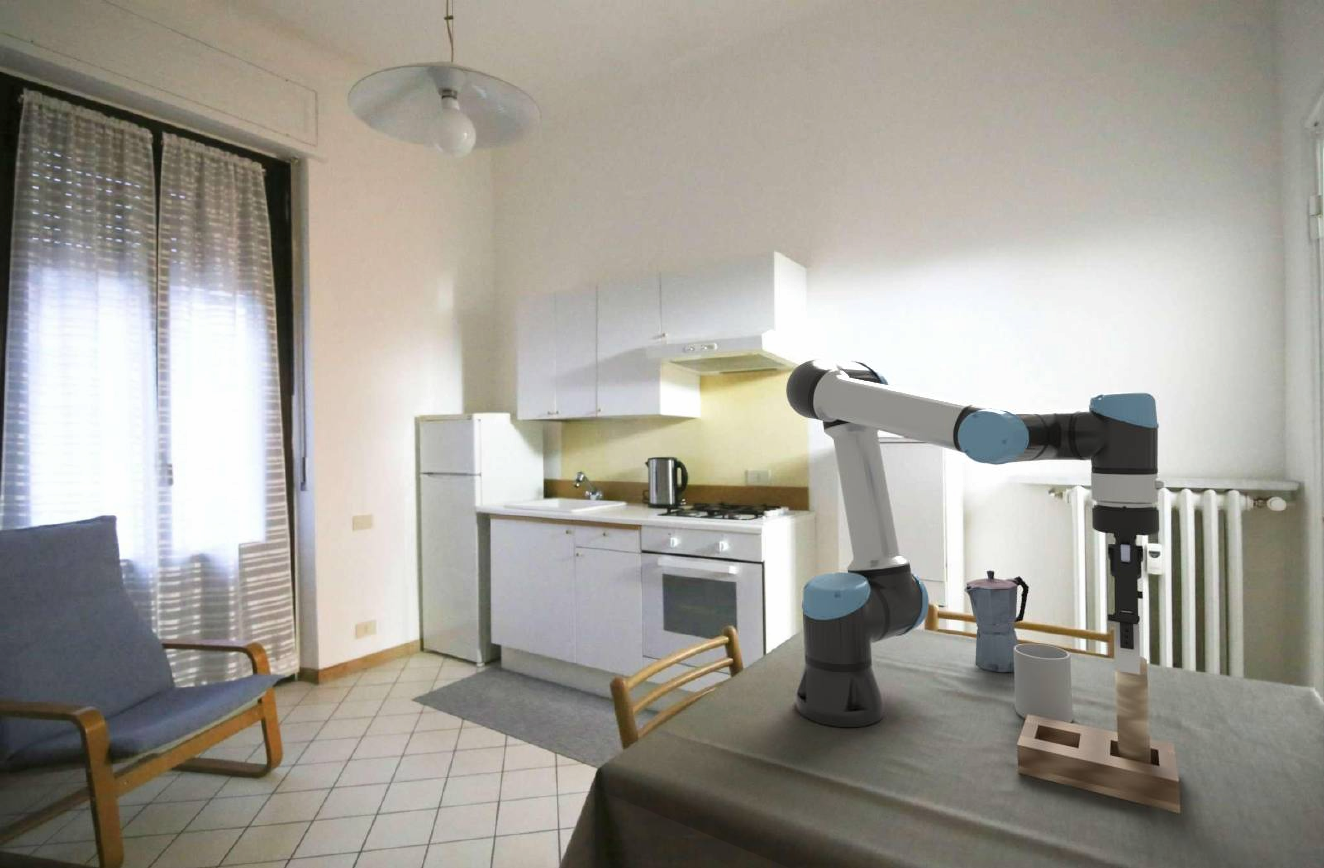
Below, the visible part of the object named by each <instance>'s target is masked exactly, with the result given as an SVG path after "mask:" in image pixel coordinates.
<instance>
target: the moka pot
mask: <svg viewBox="0 0 1324 868" xmlns="http://www.w3.org/2000/svg"><path fill="white" fill-rule="evenodd" d="M986 574H987V578H985V577H984V578H978V579H974V580H971V581H969V582H967V583H966V587H965V588H964V592H966V593H967V595H968V596H969V600H970V601H969V602H970V605H971V610H972V615H973V618H974V619H975V624H976V627H977V629H976V638H975V639H976V643H975V644H976V645H975V664H976V665H977V666H978V667H980V668H981V669H983V670H986V671H989V672H996V673H1014V647H1015V646H1017V645H1020V644H1019V640H1018V636H1017V632H1016V630H1015V629H1016V626H1015V623H1019V622H1022V621H1024V616H1025V610H1026V606H1027V600H1028V594H1029V588H1030V586H1029V585H1028V584H1027V582H1026V581H1024V580H1023V578H1022V577H1021V576H1017V577H1014V578H1006V579H1000V578H995V571H994V570H986ZM1019 586H1021V588H1022V592H1021V593H1020V595H1021V601H1020V609H1019V613H1018V614H1017V610H1018V609H1017V606H1018V604H1017V603H1018V587H1019Z"/></svg>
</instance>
